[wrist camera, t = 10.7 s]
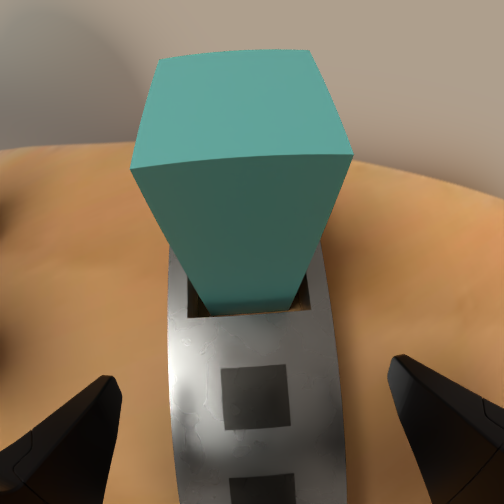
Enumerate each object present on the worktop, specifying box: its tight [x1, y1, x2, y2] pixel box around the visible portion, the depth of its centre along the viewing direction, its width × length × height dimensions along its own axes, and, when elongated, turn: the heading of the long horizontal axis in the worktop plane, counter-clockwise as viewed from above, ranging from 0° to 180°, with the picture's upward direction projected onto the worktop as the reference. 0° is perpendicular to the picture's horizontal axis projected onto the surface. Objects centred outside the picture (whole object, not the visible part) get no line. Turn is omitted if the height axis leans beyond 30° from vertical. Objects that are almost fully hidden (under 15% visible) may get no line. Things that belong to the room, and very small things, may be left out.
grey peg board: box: [168, 241, 347, 504], centre depth 15 cm, size 21×8×3 cm, turn 4°
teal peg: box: [130, 49, 354, 316], centre depth 13 cm, size 4×4×13 cm
